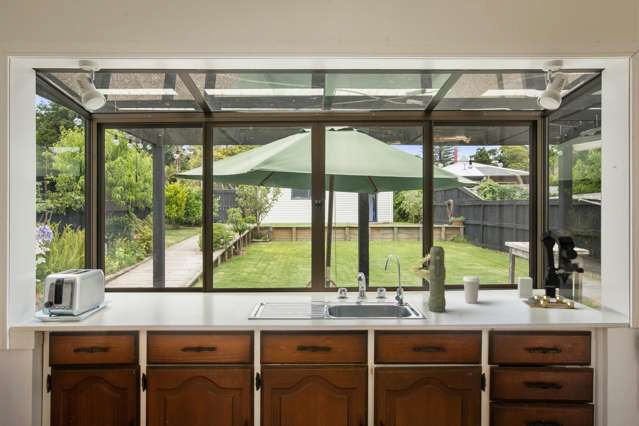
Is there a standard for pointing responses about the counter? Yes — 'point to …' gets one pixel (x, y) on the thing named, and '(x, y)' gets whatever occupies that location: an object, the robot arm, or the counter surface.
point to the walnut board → (551, 305)
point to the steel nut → (532, 301)
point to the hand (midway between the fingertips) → (563, 284)
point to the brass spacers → (547, 300)
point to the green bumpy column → (437, 280)
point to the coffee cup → (471, 289)
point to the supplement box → (525, 287)
